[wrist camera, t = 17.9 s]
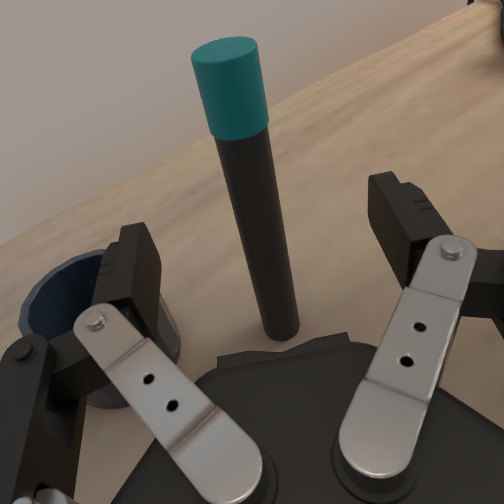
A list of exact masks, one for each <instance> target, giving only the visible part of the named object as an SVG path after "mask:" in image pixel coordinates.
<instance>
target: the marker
mask: <svg viewBox="0 0 504 504" xmlns="http://www.w3.org/2000/svg"><path fill="white" fill-rule="evenodd" d="M191 61H192V65H193V69H194V72H195V76H196V80H197V84H198V88H199V91H200V95H201V98H202V102H203V106H204V110H205V114H206V118H207V121H208V125H209V129H210V132H211V134H212V135H213V136H214V138H215V142H216V146H217V150H218V154H219V157H220V161H221V165H222V169H223V173H224V177H225V180H226V184H227V188H228V192H229V196H230V200H231V203H232V207H233V211H234V215H235V219H236V223H237V226H238V230H239V234H240V238H241V242H242V246H243V249H244V253H245V257H246V261H247V265H248V269H249V272H250V276H251V280H252V284H253V288H254V292H255V295H256V299H257V303H258V307H259V311H260V315H261V318H262V322H263V326H264V330H265V332H266V334H267V335H268V336H269V337H270V338H272V339H274V340H278V341H283V340H288V339H290V338H292V337H293V336H294V335H295V334H296V333H297V332H298V330H299V326H300V323H299V317H298V311H297V305H296V299H295V292H294V286H293V280H292V274H291V268H290V262H289V256H288V249H287V243H286V237H285V231H284V225H283V219H282V212H281V206H280V200H279V194H278V188H277V182H276V175H275V169H274V163H273V157H272V151H271V145H270V139H269V132H268V126H267V125H268V122H269V117H268V110H267V104H266V98H265V92H264V85H263V79H262V73H261V66H260V60H259V53H258V47H257V43H256V41H255V40H254V39H252V38H248V37H229V38H224V39H219V40H215V41H212V42H209V43H207V44H205V45H203V46H201V47H199V48H197V49H196V50H195V51H194V52H193V53H192V55H191Z"/></svg>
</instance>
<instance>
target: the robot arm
mask: <svg viewBox="0 0 504 504" xmlns="http://www.w3.org/2000/svg"><path fill="white" fill-rule="evenodd" d="M500 1H501V2H502V3H503V8H502V11H501V37H502V40H503V42H504V0H500ZM472 3H474V0H468V2H467V6H468V5H470V4H472ZM368 217H369V222H370V225H371V228H372V230H373V232H374V234H375V236H376V238H377V240H378V242H379V244H380V246H381V248H382V250H383V252H384V254H385V256H386V258H387V260H388V262H389V264H390V266H391V268H392V270H393V272H394V274H395V276H396V278H397V280H398V282H399V284H400V286H401V288H402V290H403V292H402V294H401V296H400V298H399V301H398V303H397V305H396V307H395V310H394V312H393V314H392V317H391V319H390V321H389V323H388V326H387V328H386V330H385V333H384V335H383V337H382V339H381V342H380V344H379V346H378V347H375V346H372V345H369V344H365V343H360V342H350V340H349V337H348V334H347V332H344V333H339V334H334V335H329V336H323V337H318V338H314V339H312V340H309V341H307V342H305V343H303V344H300V345H298V346H296V347H294V348H291V349H289V350H287V351H284V352H264V351H246V352H240V353H235V354H230V355H225V356H220V357H217V368H214V369H212V370H211V371H209V372H207V373H206V374H204V375H203V376H202V377H200V378H199V379H198V380H197V381H196V382H195V383H193V382H192V381H191V380H190V379H189V378H188V377H187V376H186V375H185V374H184V373H183V372H182V371H181V370H180V369H179V368H178V367H177V366H176V365H175V364H174V363H173V362H172V361H171V360H170V359H169V358H168V357H167V355H166V354H165V353H164V352H163V351H162V350H161V349H160V348H159V347H158V346H157V345H156V344H155V343H154V342H156V335H157V322H158V309H159V296H160V283H161V260H160V256H159V253H158V251H157V249H156V246H155V244H154V242H153V240H152V238H151V235H150V233H149V231H148V229H147V227H146V225H145V223H144V222H140V223H135V224H130V225H126V226H122V227H121V231H120V236H119V241H118V242H113V243H110V245H109V246H108V248H107V249H106V250H105V252H104V253H103V256H102V260H101V264H100V265H101V267H100V269H99V273H98V275H99V276H98V277H97V282H96V286H95V290H94V295H93V299H92V303H91V307H90V308H88V309H86V310H85V311H84V312H82V313H81V314H80V315H79V317H78V318H77V320H76V321H75V324H74V327H73V329H72V330H70V331H68V332H66V333H64V334H62V335H60V336H57V337H55V338H53V339H51V340H49V341H48V340H47V339H46V338H45V337H44V336H42V335H40V334H31V335H27V336H24V337H22V338H20V339H18V340H17V341H15V342H14V343H13V344H12V345H11V346H10V347H9V348H8V349H7V350H6V351H5V353H4V355H3V356H2V359H1V362H0V504H79V503H77V502H76V501H74V500H73V499H74V492H75V485H76V477H77V470H78V462H79V455H80V448H81V440H82V433H83V426H84V418H85V411H86V403H87V396H88V395H89V394H91V393H93V392H95V391H97V390H99V389H100V388H102V387H104V386H106V385H108V384H110V383H113V384H114V385H115V387H116V388H117V389H118V390H119V392H120V393H121V394H122V395H123V397H124V398H125V399H126V400H127V402H128V403H129V404H130V406H131V407H132V408H133V409H134V411H135V412H136V413H137V414H138V416H139V417H140V418H141V420H142V421H143V422H144V423H145V425H146V426H147V427H148V428H149V430H150V431H151V432H152V434H153V435H154V436H155V439H154V440H153V442H152V443H151V445H150V446H149V448H148V449H147V451H146V452H145V454H144V455H143V457H142V458H141V459H140V461H139V462H138V464H137V465H136V467H135V468H134V470H133V471H132V473H131V474H130V476H129V477H128V478H127V480H126V481H125V483H124V484H123V486H122V487H121V489H120V490H119V492H118V493H117V495H116V496H115V498H114V499H113V500H112V502H111V503H110V504H504V429H502V428H501V427H499V426H498V425H496V424H495V423H493V422H492V421H490V420H489V419H487V418H486V417H484V416H483V415H481V414H480V413H478V412H477V411H475V410H474V409H472V408H471V407H469V406H468V405H466V404H465V403H463V402H462V401H460V400H459V399H457V398H456V397H454V396H453V395H451V394H450V393H448V392H447V391H445V390H444V389H442V388H441V387H440V384H441V381H442V378H443V374H444V371H445V367H446V364H447V360H448V357H449V354H450V351H451V348H452V344H453V341H454V338H455V335H456V332H457V328H458V325H459V322H460V319H461V316H467V317H480V318H492V320H493V322H494V324H495V325H496V327H497V329H498V330H499V332H500V334H501V336H502V337H503V339H504V250H485V249H478V248H476V247H475V245H474V244H473V243H472V242H471V241H469V240H468V239H466V238H463V237H461V236H457V235H454V234H453V233H452V231H451V230H450V229H449V227H448V226H447V224H446V223H445V222H444V220H443V219H442V217H441V216H440V215H439V213H438V212H437V210H436V209H434V206H433V205H432V203H431V202H430V201H428V198H427V196H426V195H425V194H424V192H423V191H422V189H420V188H418V187H417V186H415V185H413V184H412V183H410V182H407V183H402V184H401V183H400V182H399V180H398V179H397V177H396V176H395V174H394V173H393V172H392V171H389V172H384V173H379V174H374V175H370V176H369V179H368Z"/></svg>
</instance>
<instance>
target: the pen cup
mask: <svg viewBox="0 0 504 504" xmlns="http://www.w3.org/2000/svg"><path fill="white" fill-rule="evenodd" d="M105 250H106V249H98V250H94V251H91V252H87V253H84V254H81V255H78V256H75V257H73V258H71V259H69V260H68V261H66V262H64V263H62V264H61V265H59V266H57V267H55V268H54V269H52V270H51V271H50V272H49V273H48V274H47V275H45V276H44V277H43V278H42V279H41V280H40V281H39V282H38V283H37V284H36V285H35V286H34V287H33V288H32V290H31V291H30V293H29V294H28V296H27V298H26V299H25V301H24V302H23V304H22V306H21V310H20V316H19V322H18V327H19V329H20V332H21V334H22V336H23V337H24V336H27V335H31V334H40V335H42V336H44V337H45V338H46V339H47V340H48V341H49V340H51V339H53V338H55V337H57V336H60V335H62V334H64V333H66V332H68V331H70V330H72V329H73V327H74V324H75V321H76V320H77V318H78V317H79V315H80V314H81V313H82V312H84V311H85V310H86V309H88V308H90V307H91V303H92V299H93V295H94V290H95V286H96V282H97V277H98V276H99V275H98V273H99V269H100V267H101V265H100V264H101V260H102V256H103V253H104V252H105ZM154 343H155V344H156V345H157V346H158V347H159V348H160V349H161V350H162V351H163V352H164V353H165V354H166V355H167V357H168V358H169V359H170V360H171V361H172V362H173V363H174V364H176V362H177V359H178V356H179V351H180V336H179V332H178V330H177V328H176V323H175V321H174V319H173V317H172V315H171V313H170V311H169V309H168V307H167V305H166V303H165V301H164V299H163V297H162V295H161V293H160V296H159V309H158V322H157V335H156V342H154ZM87 404H89V405H92V406H95V407H98V408H119V407H124V406H127V405H130V404H129V403H128V402H127V400H126V399H125V398H124V397H123V395H122V394H121V393H120V392H119V390H118V389H117V388H116V387H115V385H114V384H113V383H110V384H108V385H106V386H104V387H102V388H100V389H99V390H97V391H95V392H93V393H91V394H89V395H88V396H87Z"/></svg>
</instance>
